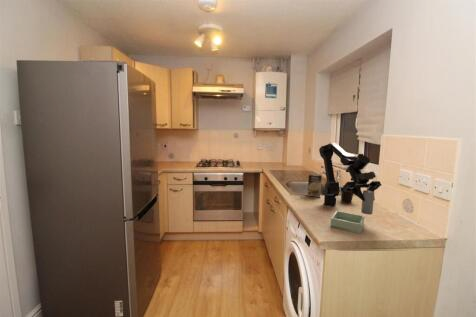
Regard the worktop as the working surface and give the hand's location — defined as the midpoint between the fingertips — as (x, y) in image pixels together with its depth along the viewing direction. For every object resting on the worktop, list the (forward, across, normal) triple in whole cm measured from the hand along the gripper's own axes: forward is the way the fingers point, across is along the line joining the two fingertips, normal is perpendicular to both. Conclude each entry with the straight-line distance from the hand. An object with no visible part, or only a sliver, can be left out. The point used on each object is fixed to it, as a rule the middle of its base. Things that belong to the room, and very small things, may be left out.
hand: (369, 200), depth 116 cm
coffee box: (-29, -1, +48) cm, 56 cm away
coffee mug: (-19, +17, +39) cm, 46 cm away
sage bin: (+8, -9, +11) cm, 17 cm away
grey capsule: (+4, 0, +5) cm, 7 cm away
